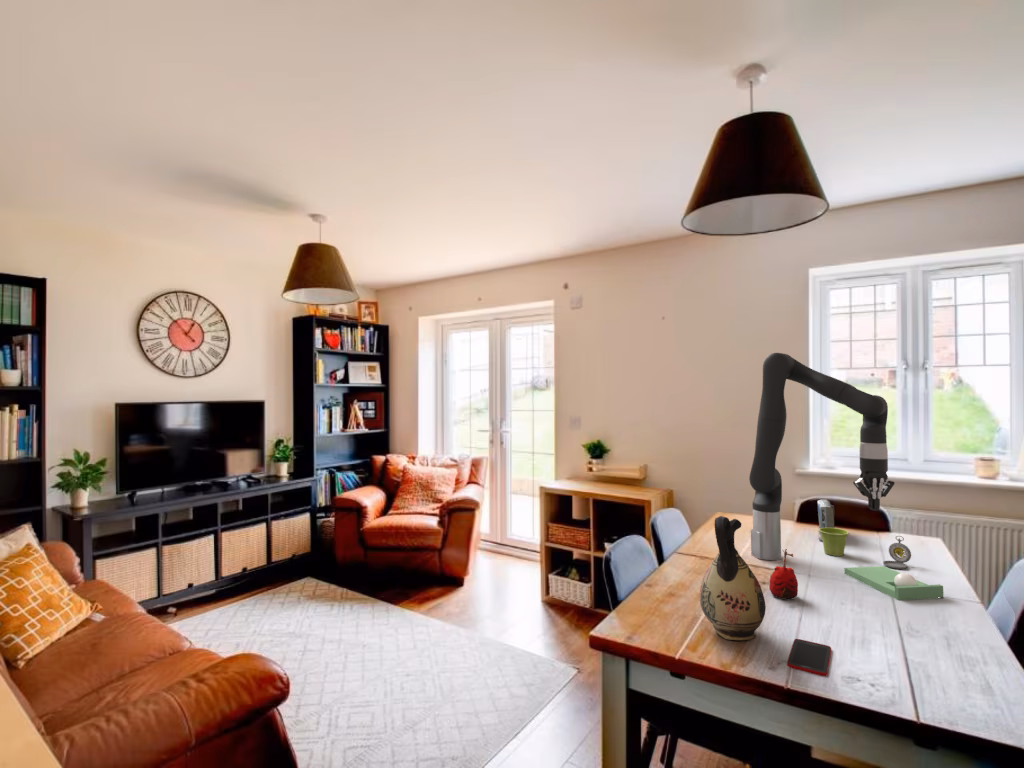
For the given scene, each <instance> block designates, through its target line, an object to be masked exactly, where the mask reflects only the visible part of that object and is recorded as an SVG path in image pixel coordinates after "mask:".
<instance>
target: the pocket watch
mask: <svg viewBox="0 0 1024 768" xmlns="http://www.w3.org/2000/svg"><path fill="white" fill-rule="evenodd" d="M898 537H899V538H898ZM897 538H898V539H897ZM901 538H902V539H901ZM895 539H896V540H897V542H893V543H892V544H890V545H889V547H888V553H889V556H890V557H891V558H892V559H893V560H883V562H882V564H883V566H885V567H887V568H890V569H898V570H903V569H907V567H908V565H907V564H906V563H908V562H909V561H910V560H911V558H912V552H911V550H910V548H909V547H908V546H907V545H905V544H903V543H901V542H903V541H904V540H905V539H904V536H901V535H896V536H895Z"/></svg>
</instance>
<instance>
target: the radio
mask: <svg viewBox="0 0 1024 768" xmlns="http://www.w3.org/2000/svg"><path fill="white" fill-rule="evenodd" d="M816 504H817V512H818V513H817V516H818V525H819V526H818V529H817V532H818V535H817V536H818V541H821V542H823V540H822V535H821V532H820V531H819V529H820V528H836V527H835V514H836V511H835V505H832V504H831V502H830V501H829V500H828V499H825V498H823V499H822V498H821V499H818V500H817V502H816Z"/></svg>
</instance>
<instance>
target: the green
mask: <svg viewBox="0 0 1024 768" xmlns="http://www.w3.org/2000/svg"><path fill="white" fill-rule="evenodd" d="M900 573H901V572H899V571H896V570H894V569H893V568H891V567H888V566H885V565H883V566H882V565H881V566H879V565H877V566H875V565H874V566H856V567H854V566H852V567H844V573H843V574H844V575H845V576H849V577H850V578H852V579H854V580H857V581H859V582H861V583H863V584H864V585H866V586H869V587H871V588H873V589H875V590H877V591H879V592H881V593H883V594H885V595H887V596H889V597H891V598H893V599H896V600H898V601H901V600H902V601H906V600H907V601H909V600H910V601H911V600H926V599H927V600H930V599H929V598H932V599H939V598H938V597H943V598H944V585H942V584H928V583H925V582H923V581H920V580H919V579H916V581H917V585H916V586H896V585H895V583H894V578H895V576H896V575H898V574H900Z"/></svg>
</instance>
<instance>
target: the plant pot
mask: <svg viewBox="0 0 1024 768" xmlns="http://www.w3.org/2000/svg"><path fill="white" fill-rule="evenodd" d="M818 529H819V528H818ZM819 531H820V532H821V535H822V540H823V541H822V544H823V551H824V554H826V555H827V556H833V557H842V556H844V555H845V554H844V553H845V549H846V541H847V538H848V535H849V531H847V530H846V529H843V528H836V527H835V528H820V529H819Z"/></svg>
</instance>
